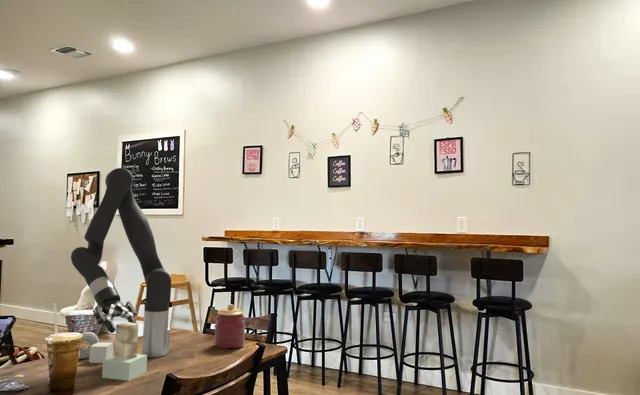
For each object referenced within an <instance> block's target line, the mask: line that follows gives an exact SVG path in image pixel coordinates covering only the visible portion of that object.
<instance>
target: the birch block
mask: <svg viewBox="0 0 640 395" xmlns="http://www.w3.org/2000/svg"><path fill="white" fill-rule="evenodd" d="M115 328H116V330H115V342H114V355H113V356H114V357H115V358H118V359H122V360H127V359H130V358H134V357H137V354H138V340H139V323H137V324H135V323H131V322H128V321H127V322H122V323H117V324H115Z"/></svg>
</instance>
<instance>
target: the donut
mask: <svg viewBox="0 0 640 395" xmlns="http://www.w3.org/2000/svg"><path fill="white" fill-rule="evenodd" d="M79 334H82V335H83V339H82V342H81V346H82V344H83V343H85V342H88V343H89V345H88V347H87V348H85V349H83V348H82V347H81V348H80V357H79V358H78V359H80V360H81V359H82V360H85V359H90V346H92V345H94V344H96V343H98V342H100V340H99V337H98V335H97V334H96V333H94V332H93V331H84V332H81V333H79Z"/></svg>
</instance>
